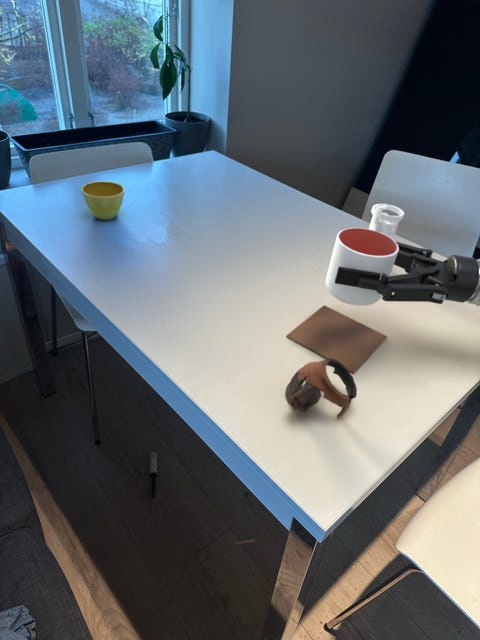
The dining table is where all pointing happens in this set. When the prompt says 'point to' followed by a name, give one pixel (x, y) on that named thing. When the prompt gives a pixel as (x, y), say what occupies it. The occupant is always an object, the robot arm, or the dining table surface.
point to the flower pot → (103, 198)
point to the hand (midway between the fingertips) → (336, 258)
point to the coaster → (337, 338)
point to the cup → (360, 262)
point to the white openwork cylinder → (385, 219)
